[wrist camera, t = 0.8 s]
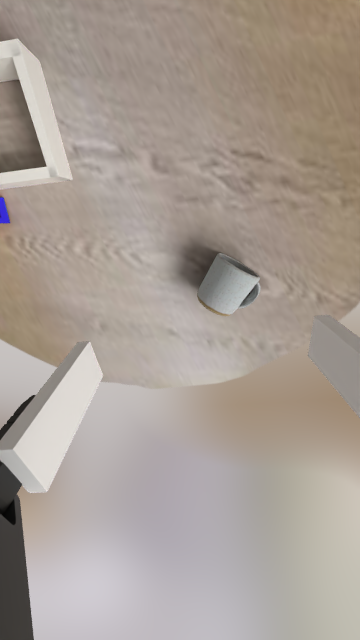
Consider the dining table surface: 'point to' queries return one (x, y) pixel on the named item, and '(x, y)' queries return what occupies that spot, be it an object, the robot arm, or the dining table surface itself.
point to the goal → (34, 117)
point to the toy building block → (3, 212)
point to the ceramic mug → (228, 286)
